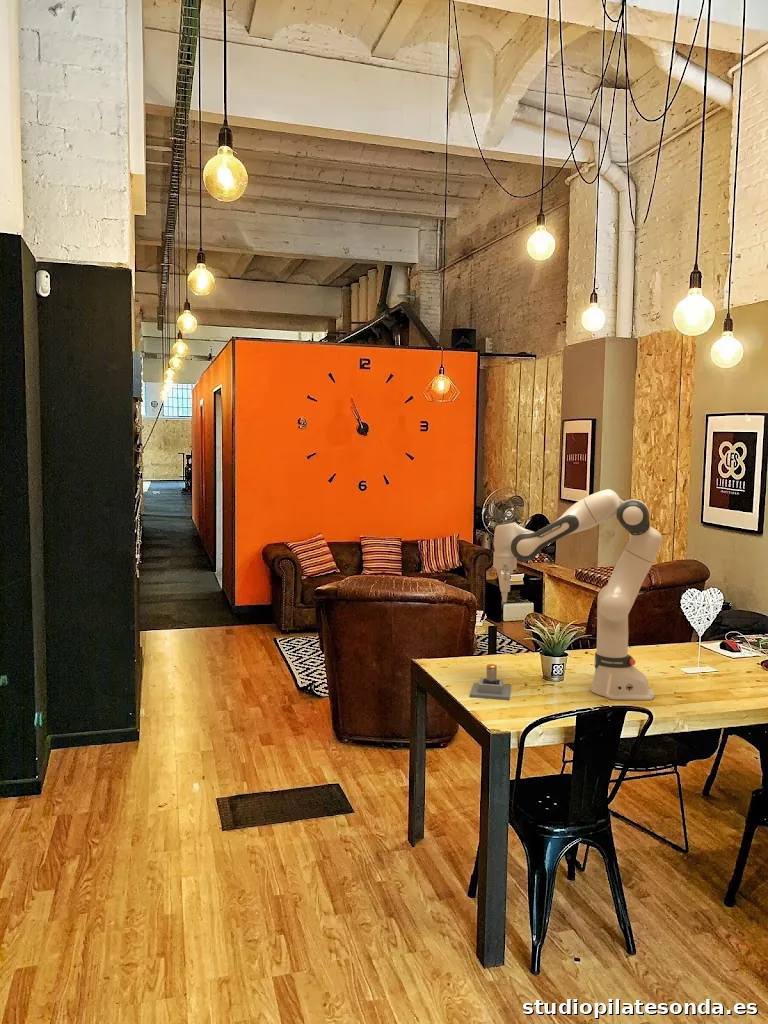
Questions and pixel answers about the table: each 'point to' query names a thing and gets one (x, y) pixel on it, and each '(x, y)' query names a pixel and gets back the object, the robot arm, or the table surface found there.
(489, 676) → the pivot pin
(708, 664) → the table surface
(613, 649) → the robot arm
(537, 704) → the table surface
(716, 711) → the table surface
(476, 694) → the grey square socket base
